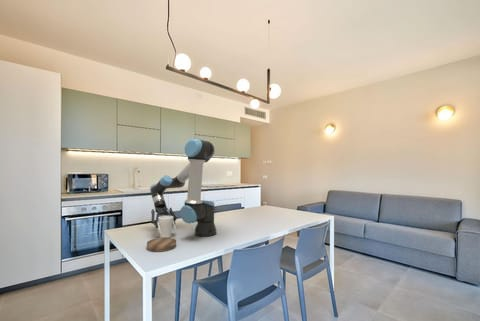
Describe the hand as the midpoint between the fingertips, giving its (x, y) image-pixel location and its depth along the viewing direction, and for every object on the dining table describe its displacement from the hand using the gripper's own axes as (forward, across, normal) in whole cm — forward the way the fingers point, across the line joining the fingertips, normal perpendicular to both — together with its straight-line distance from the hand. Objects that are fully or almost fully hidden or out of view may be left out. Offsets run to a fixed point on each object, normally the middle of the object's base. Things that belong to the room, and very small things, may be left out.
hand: (167, 230), depth 145 cm
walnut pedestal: (+13, +8, +6) cm, 17 cm away
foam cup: (+1, 0, -6) cm, 6 cm away
